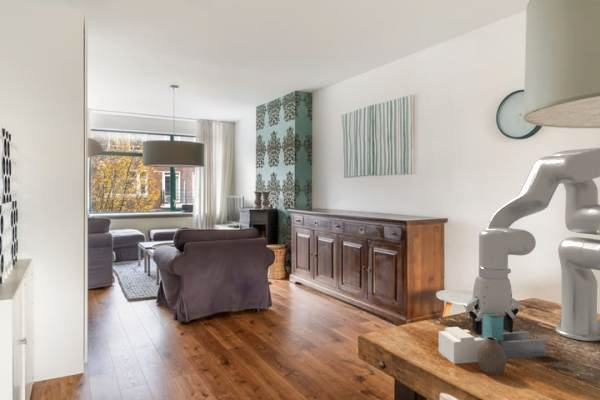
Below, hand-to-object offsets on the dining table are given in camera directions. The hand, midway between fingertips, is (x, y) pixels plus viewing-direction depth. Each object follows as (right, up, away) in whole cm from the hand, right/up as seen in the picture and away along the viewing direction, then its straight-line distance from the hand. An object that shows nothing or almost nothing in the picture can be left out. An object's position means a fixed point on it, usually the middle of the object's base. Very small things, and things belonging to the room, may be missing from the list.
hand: (492, 332), depth 116 cm
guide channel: (+7, -6, +1) cm, 9 cm away
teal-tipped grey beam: (-5, -5, -1) cm, 7 cm away
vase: (-6, -7, -11) cm, 14 cm away
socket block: (-9, -6, -1) cm, 11 cm away
